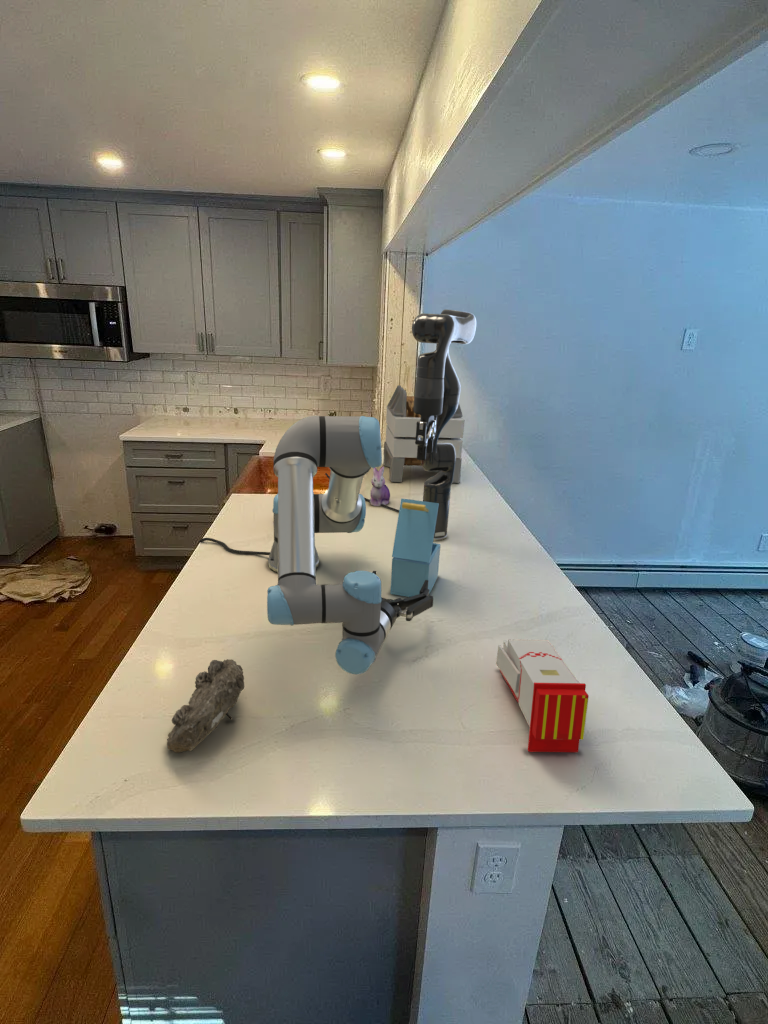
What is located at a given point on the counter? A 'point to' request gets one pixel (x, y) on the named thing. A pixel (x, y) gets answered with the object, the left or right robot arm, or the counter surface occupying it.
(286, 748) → the counter surface
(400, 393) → the grey wooden crate
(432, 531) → the lid
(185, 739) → the fossil
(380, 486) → the figurine
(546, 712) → the toy
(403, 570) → the chest
